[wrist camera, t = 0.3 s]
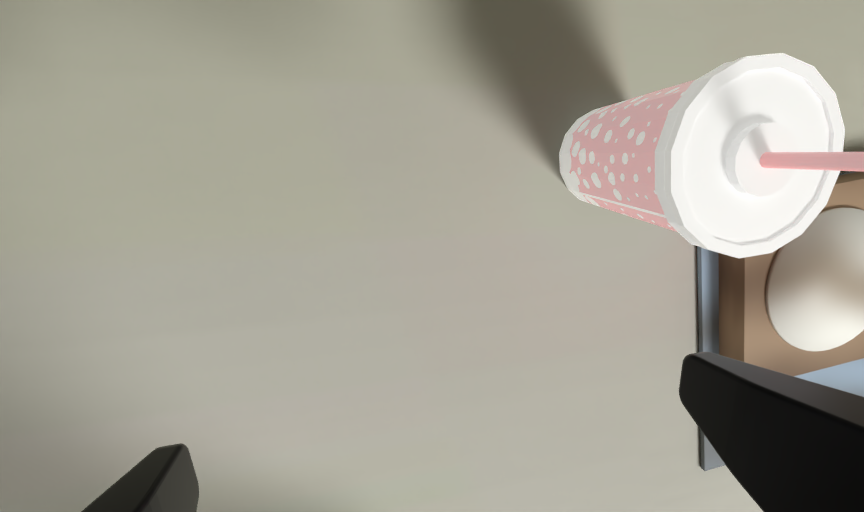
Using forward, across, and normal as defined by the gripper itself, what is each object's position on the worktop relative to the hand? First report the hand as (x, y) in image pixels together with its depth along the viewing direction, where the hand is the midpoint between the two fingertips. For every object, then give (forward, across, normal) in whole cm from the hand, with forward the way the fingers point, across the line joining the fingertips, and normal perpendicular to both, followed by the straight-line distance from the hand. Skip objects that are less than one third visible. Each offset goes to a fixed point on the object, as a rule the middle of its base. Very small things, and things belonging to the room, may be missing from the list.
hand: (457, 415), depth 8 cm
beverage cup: (+15, -11, -2) cm, 18 cm away
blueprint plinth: (+13, -24, +8) cm, 28 cm away
